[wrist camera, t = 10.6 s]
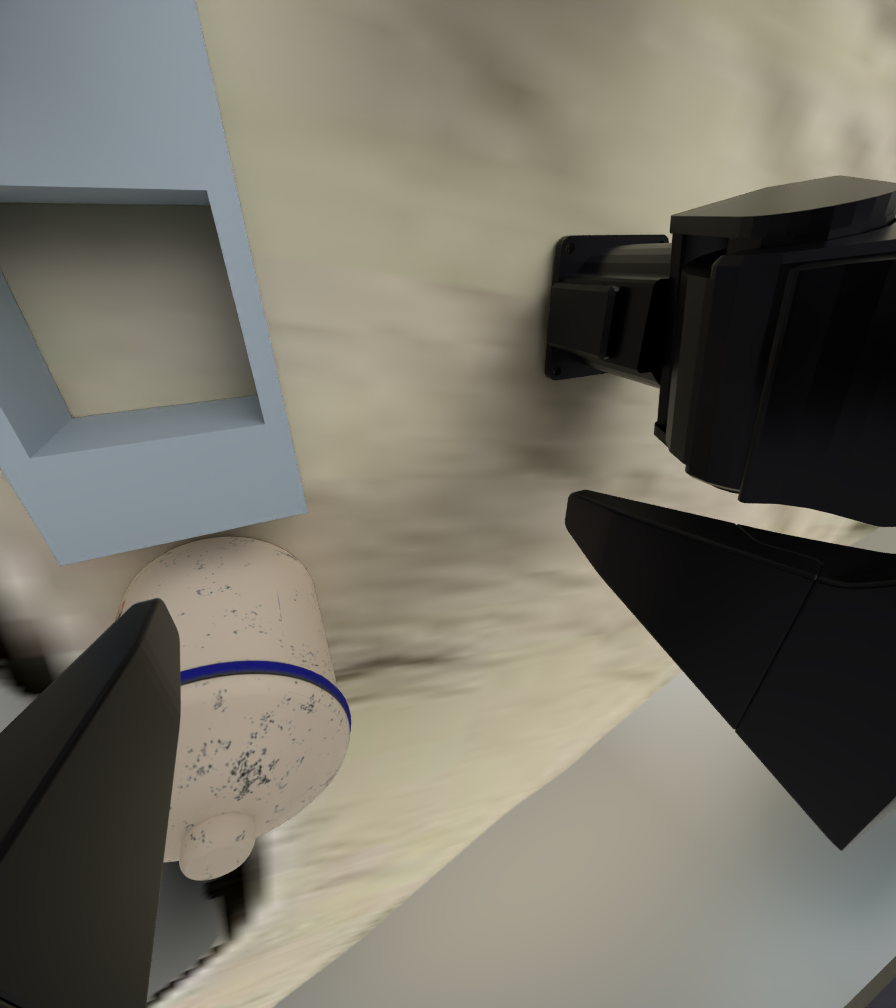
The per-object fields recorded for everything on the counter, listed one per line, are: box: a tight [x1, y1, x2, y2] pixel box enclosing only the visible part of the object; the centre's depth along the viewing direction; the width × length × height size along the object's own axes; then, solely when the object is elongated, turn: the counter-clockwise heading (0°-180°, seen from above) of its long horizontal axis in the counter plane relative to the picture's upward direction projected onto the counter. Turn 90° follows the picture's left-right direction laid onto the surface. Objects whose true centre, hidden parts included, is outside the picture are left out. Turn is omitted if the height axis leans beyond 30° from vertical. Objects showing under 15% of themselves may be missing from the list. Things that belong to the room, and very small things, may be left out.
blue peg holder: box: [0, 0, 308, 566], centre depth 11 cm, size 22×8×4 cm, turn 2°
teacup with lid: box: [115, 537, 351, 880], centre depth 18 cm, size 12×9×12 cm
